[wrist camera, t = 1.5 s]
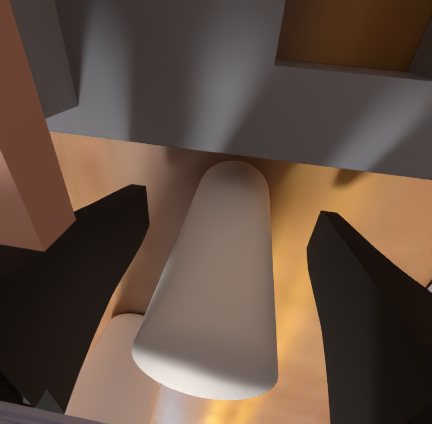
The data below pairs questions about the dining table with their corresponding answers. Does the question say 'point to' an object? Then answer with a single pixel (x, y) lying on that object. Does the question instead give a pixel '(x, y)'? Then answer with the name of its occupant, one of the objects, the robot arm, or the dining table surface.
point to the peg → (216, 294)
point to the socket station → (187, 96)
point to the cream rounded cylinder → (115, 379)
